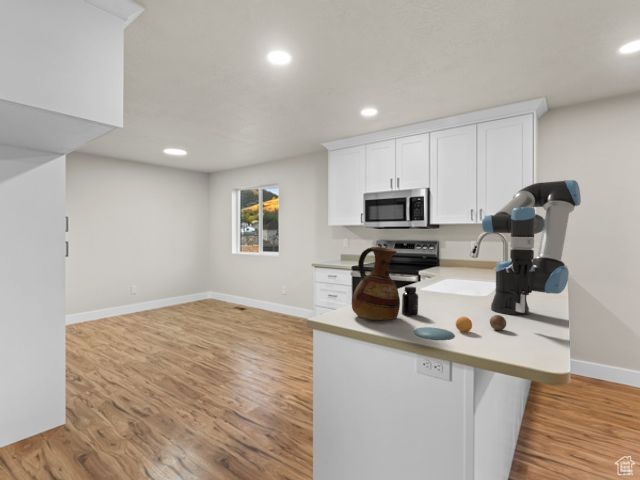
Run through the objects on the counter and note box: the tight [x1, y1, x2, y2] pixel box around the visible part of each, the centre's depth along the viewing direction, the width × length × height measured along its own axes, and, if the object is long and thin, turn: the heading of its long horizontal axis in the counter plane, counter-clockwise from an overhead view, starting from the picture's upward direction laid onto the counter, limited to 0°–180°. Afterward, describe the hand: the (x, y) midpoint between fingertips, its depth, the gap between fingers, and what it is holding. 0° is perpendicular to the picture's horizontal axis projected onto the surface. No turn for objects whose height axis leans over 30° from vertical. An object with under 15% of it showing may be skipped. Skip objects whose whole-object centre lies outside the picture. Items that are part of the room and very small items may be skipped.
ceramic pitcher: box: [351, 245, 401, 321], centre depth 141 cm, size 20×20×30 cm
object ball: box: [455, 316, 473, 333], centre depth 122 cm, size 6×6×6 cm
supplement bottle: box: [401, 285, 419, 317], centre depth 147 cm, size 7×7×12 cm
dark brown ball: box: [489, 314, 507, 331], centre depth 125 cm, size 6×6×6 cm
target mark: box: [412, 326, 455, 341], centre depth 120 cm, size 14×14×1 cm
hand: (520, 311), depth 126 cm, fingers closed
